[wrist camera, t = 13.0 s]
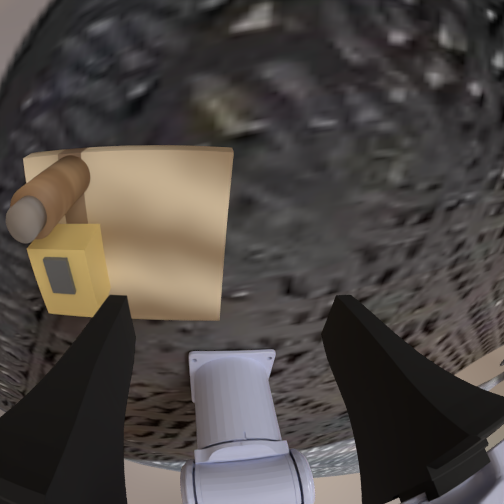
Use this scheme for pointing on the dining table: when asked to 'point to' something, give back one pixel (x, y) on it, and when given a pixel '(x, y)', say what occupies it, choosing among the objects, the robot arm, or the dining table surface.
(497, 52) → the dining table surface
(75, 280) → the stud finder
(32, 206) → the brown gray-topped cylinder
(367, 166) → the dining table surface
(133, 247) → the plywood panel
